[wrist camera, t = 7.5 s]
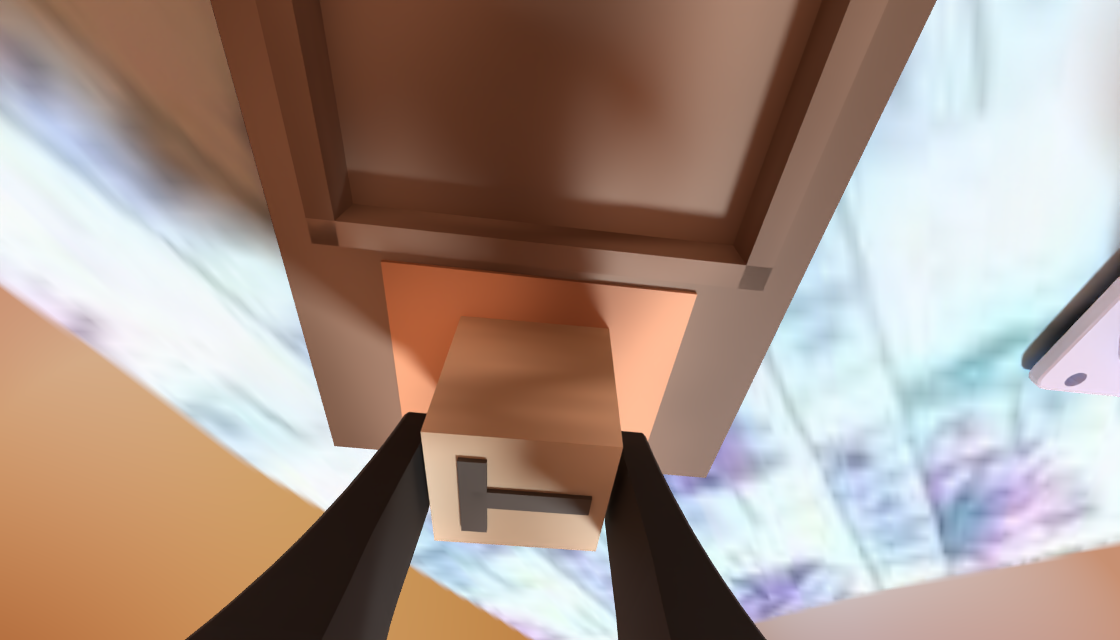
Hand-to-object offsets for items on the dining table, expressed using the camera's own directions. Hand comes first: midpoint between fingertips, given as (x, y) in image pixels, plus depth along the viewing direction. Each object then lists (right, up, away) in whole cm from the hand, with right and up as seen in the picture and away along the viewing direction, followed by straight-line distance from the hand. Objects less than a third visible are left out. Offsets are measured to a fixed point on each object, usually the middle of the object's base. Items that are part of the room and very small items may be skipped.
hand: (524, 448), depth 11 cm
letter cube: (0, +2, +2) cm, 3 cm away
